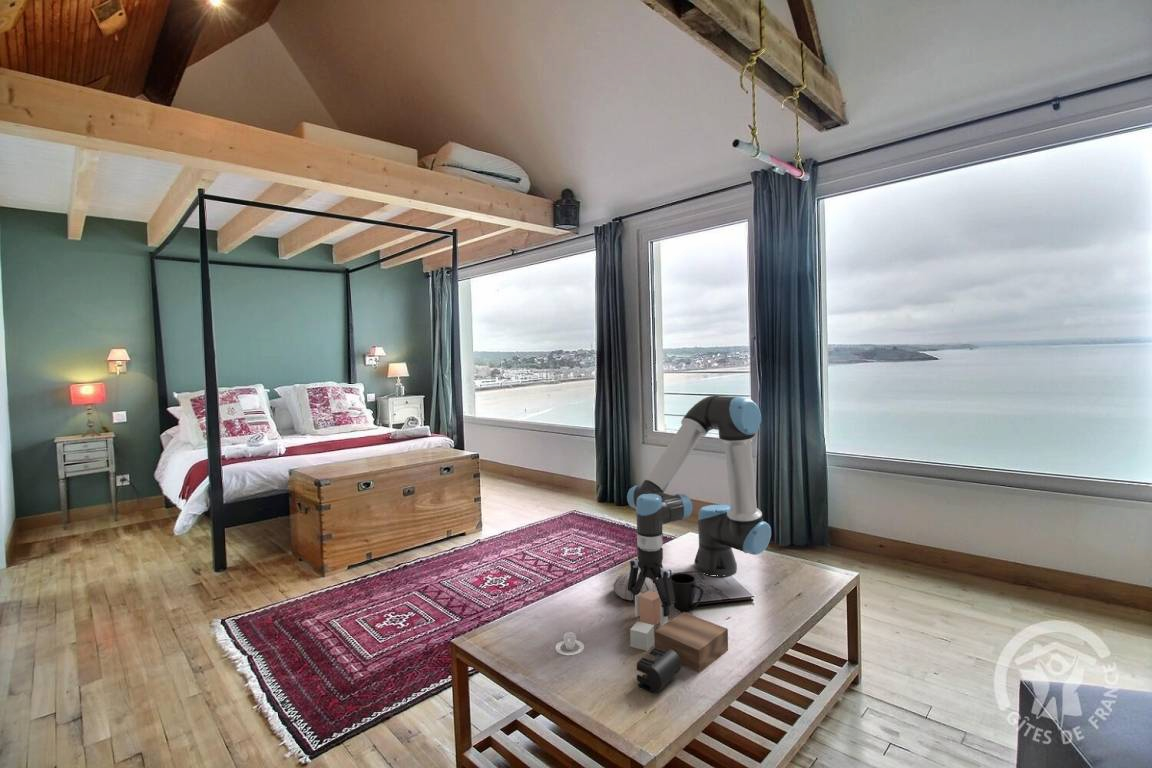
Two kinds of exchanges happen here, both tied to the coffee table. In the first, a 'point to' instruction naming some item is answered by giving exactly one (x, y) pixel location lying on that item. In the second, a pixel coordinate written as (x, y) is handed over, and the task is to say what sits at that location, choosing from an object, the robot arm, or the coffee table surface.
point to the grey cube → (642, 635)
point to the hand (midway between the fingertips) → (651, 620)
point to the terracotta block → (650, 607)
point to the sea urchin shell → (622, 586)
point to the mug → (685, 591)
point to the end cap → (658, 669)
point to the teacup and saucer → (569, 644)
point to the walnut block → (692, 640)
